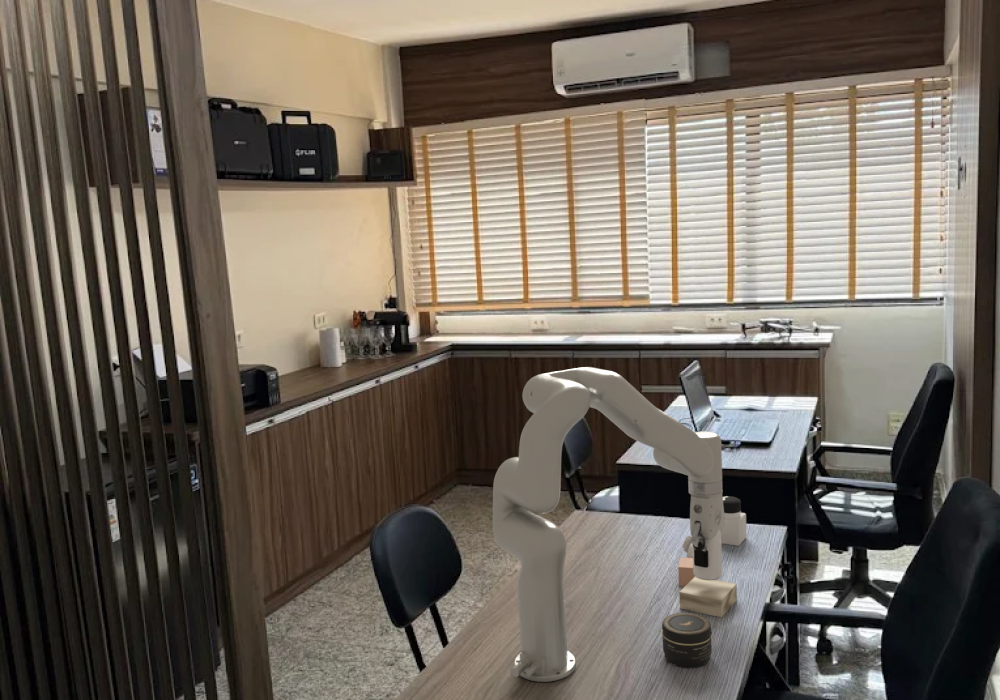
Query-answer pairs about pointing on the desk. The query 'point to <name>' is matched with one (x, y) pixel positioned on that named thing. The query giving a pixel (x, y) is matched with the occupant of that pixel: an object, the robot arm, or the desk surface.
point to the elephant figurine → (688, 547)
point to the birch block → (708, 596)
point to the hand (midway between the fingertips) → (707, 560)
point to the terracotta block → (685, 571)
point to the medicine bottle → (733, 522)
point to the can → (711, 560)
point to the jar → (687, 640)
